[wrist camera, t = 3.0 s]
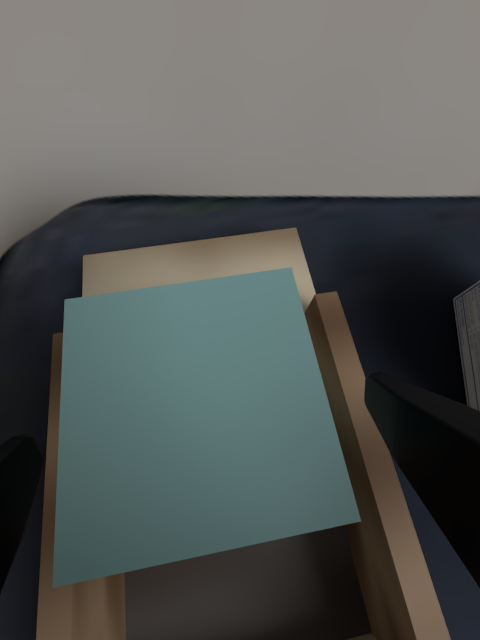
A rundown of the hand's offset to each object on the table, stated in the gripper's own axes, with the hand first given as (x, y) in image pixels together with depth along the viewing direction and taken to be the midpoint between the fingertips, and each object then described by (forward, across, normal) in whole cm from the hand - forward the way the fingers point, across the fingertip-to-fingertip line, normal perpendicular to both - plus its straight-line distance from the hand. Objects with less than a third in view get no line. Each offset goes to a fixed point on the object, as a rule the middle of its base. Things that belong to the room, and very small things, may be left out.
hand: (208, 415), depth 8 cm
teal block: (+4, 0, +4) cm, 6 cm away
